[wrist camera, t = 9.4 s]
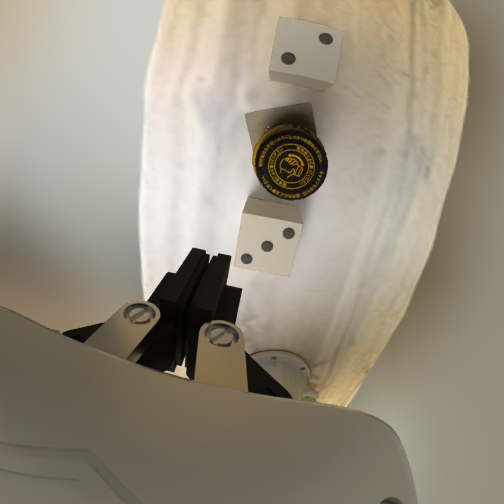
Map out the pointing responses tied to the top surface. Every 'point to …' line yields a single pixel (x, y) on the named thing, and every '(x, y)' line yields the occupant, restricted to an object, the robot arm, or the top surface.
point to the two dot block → (305, 54)
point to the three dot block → (268, 237)
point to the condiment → (287, 151)
